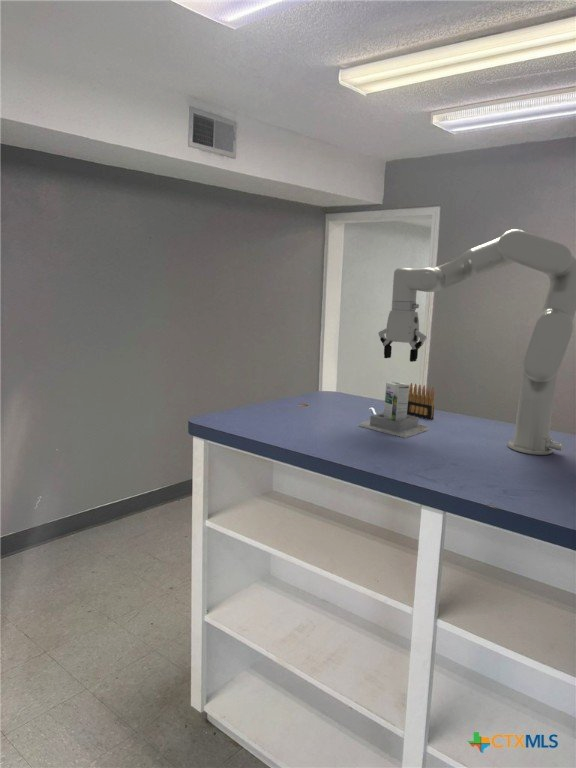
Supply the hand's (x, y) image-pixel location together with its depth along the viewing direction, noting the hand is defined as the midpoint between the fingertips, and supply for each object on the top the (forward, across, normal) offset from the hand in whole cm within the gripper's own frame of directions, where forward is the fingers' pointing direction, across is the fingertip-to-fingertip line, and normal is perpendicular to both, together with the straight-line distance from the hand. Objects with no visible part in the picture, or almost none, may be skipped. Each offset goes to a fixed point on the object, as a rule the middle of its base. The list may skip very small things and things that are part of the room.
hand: (400, 359), depth 175 cm
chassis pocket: (+23, +1, 0) cm, 23 cm away
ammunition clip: (+24, +4, -22) cm, 32 cm away
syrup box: (+22, 0, 0) cm, 23 cm away
